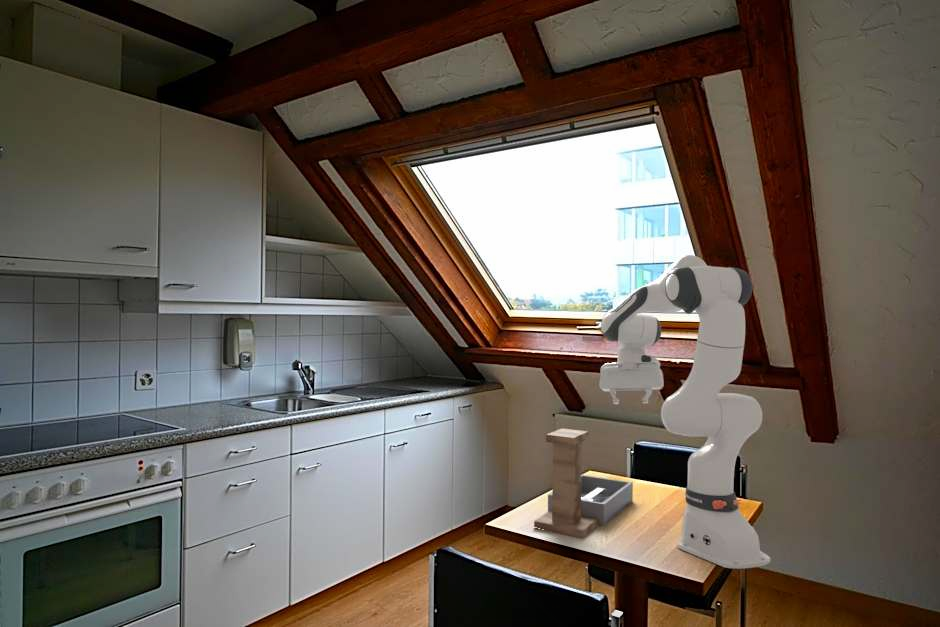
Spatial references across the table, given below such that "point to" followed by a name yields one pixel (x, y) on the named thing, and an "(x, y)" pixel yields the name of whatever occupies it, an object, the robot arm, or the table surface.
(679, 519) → the table surface
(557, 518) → the stand
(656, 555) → the table surface
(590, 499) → the white bar
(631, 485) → the parts tray
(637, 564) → the table surface
